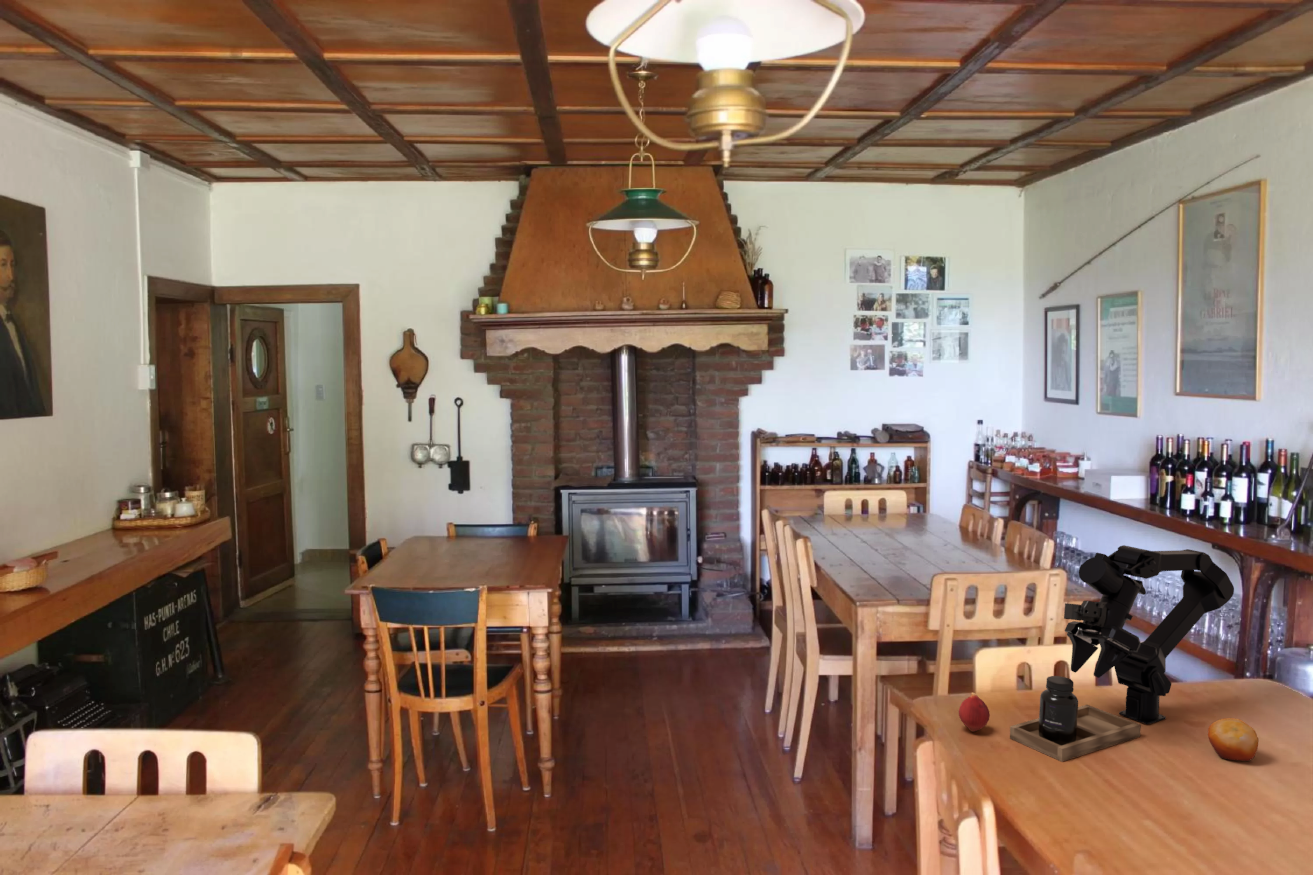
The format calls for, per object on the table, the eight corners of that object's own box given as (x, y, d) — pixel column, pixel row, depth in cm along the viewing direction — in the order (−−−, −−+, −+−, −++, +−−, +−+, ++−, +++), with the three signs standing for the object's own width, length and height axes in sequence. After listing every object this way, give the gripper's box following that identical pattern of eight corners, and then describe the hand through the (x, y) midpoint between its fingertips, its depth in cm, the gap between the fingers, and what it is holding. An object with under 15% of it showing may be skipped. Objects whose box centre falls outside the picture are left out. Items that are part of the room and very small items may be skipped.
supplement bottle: (1045, 746, 176) (1047, 685, 175) (1033, 731, 183) (1035, 673, 182) (1082, 747, 175) (1084, 686, 174) (1069, 732, 182) (1071, 673, 181)
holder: (1086, 715, 192) (1087, 704, 192) (1140, 736, 182) (1140, 724, 182) (1009, 738, 182) (1010, 726, 181) (1061, 761, 171) (1062, 748, 171)
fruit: (1252, 740, 176) (1257, 714, 172) (1256, 776, 170) (1262, 749, 166) (1203, 733, 180) (1207, 707, 175) (1206, 768, 174) (1210, 741, 169)
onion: (984, 725, 188) (985, 687, 187) (992, 737, 182) (993, 698, 182) (955, 724, 188) (956, 687, 188) (962, 736, 183) (963, 697, 182)
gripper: (1058, 584, 195) (1027, 650, 193) (1103, 585, 177) (1070, 659, 174) (1105, 609, 195) (1075, 676, 192) (1155, 613, 176) (1123, 687, 174)
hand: (1084, 673), depth 183 cm, fingers open, 9 cm apart
